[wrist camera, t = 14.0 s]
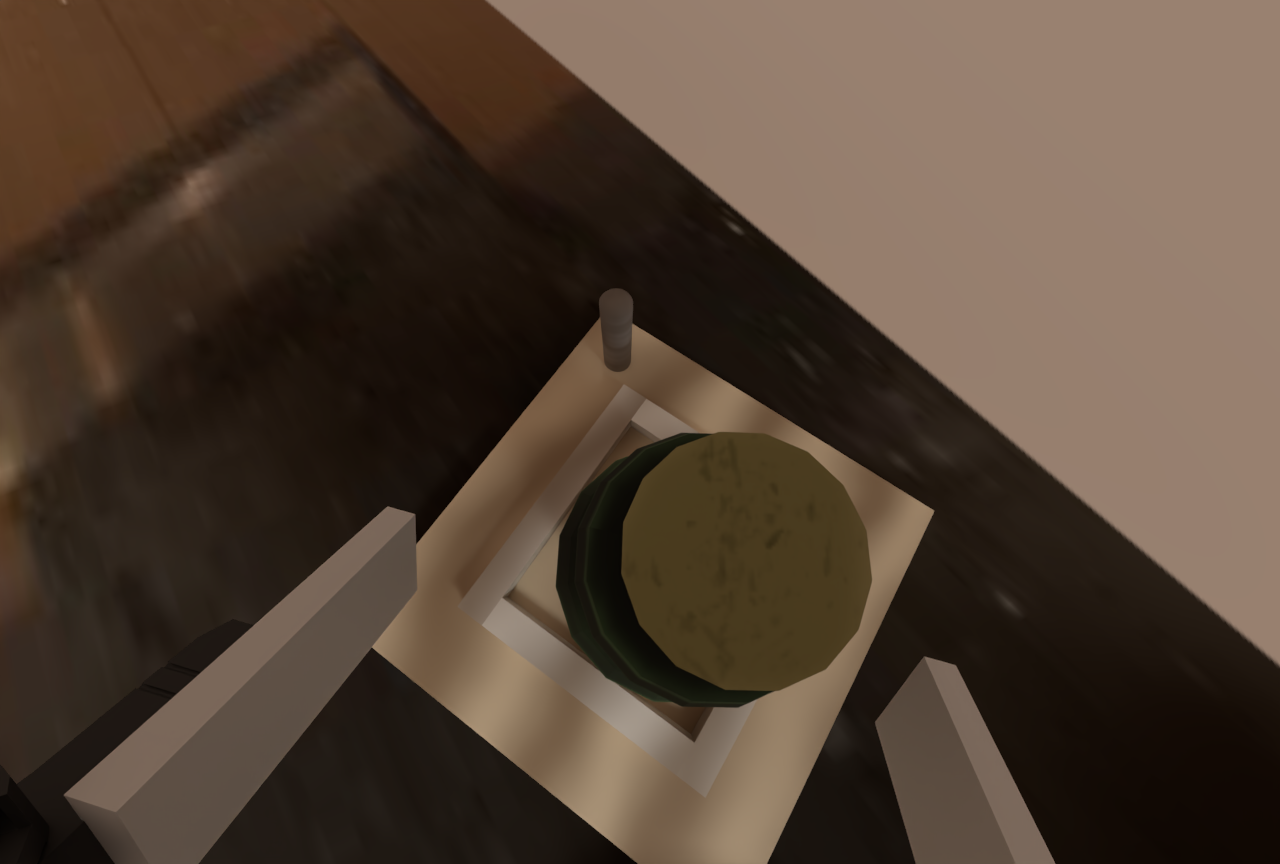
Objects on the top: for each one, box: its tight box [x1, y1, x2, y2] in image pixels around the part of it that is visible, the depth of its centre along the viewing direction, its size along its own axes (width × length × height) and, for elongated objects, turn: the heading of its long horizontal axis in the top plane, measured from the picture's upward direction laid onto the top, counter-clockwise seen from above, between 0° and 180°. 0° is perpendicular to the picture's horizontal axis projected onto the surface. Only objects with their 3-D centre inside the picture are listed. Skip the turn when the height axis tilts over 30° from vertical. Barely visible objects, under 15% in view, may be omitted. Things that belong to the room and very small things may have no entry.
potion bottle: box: [556, 432, 872, 708], centre depth 16 cm, size 8×8×18 cm
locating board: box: [372, 289, 934, 864], centre depth 22 cm, size 22×22×8 cm
